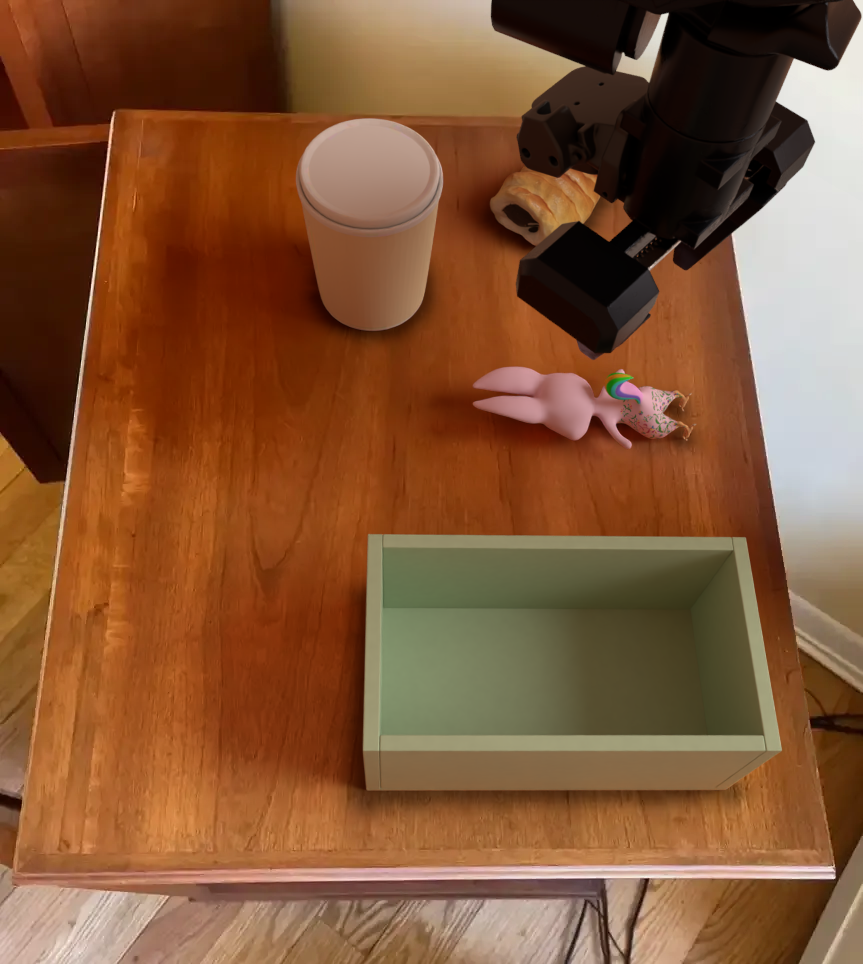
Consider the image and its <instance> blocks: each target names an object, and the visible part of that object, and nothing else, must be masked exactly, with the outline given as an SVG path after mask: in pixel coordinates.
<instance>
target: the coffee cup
mask: <svg viewBox="0 0 863 964" xmlns="http://www.w3.org/2000/svg"><path fill="white" fill-rule="evenodd" d="M297 163H298V164H297V166H296V172H295V185H296V190H297V194H298V197H299V200H300V203H301V206H302V207H301V208H302V213H303V218H304V219H303V220H304V223H305V229H306V235H307V239H308V244H309V248H310V253H311V258H312V263H313V269H314V272H315V278H316V283H317V288H318V291H319V295H320V299H321V301H322V304H323V306H324V307H325V309H326V310H327V312H328V313H329V315H331V316H332V318H334V319H335V320H336V321H338V322H340V323H341V324H343V325H345V326H347V327H350V328H352V329H355V330H359V331H360V330H361V331H366V332H377V331H384V330H389V329H392V328H395V327H398V326H401V325H402V324H404V323H405V322H407V321H408V320H409V319H411V318H412V317H413V316H414V315H415V314H416V313H417V311H418V310H419V309H420V307H421V305H422V303H423V300H424V297H425V292H426V287H427V283H428V276H429V269H430V263H431V257H432V251H433V250H432V249H433V243H434V237H435V231H436V223H437V217H438V211H439V201H440V200H441V196H442V192H443V189H444V188H443V186H444V173H443V172H444V171H443V167H442V164H441V162H440V159H439V157H438V155H437V154H436V152H435V150H434V148H433V147H432V146H431V144H430V143H429V142H428V141H427V139H425V138H424V137H423V136H422V135H421V134H419V133H418V132H417V131H416V130H413V128H410V127H408V126H406V125H403V124H401V123H399V122H396V121H393V120H388V119H383V118H354V119H349V120H345V121H342V122H339V123H336V124H334V125H331V126H329V127H328V128H325V129H324V130H323V131H321V132H320V133H319V134H317V135H316V136H315V137H314V138H313V139H312V140H311V141H310V142H309V143H308V144H307V146H306V147H305V149H304V151H303V153H302V155H301V156H300V158H299V161H298V162H297Z"/></svg>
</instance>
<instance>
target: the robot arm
mask: <svg viewBox="0 0 863 964" xmlns="http://www.w3.org/2000/svg"><path fill="white" fill-rule="evenodd" d="M666 14H668V15H667V18H666V22H665V25H664V29H663V32H662V35H661V38H660V39H661V40H660V43H659V46H658V49H657V54H656V57H655V61H654V64H653V68H652V72H651V74H650V78H649V81H648V80H647V78H645V77H643V76H640V75H636V74H631V73H627V72H621V71H617V70H618V67H619V65H620V63H621V61H622V56H623V54H624V57H626V58H629V59H631V60H634V61H638V60H639V59H640V58H641V57H642V55H643V54H644V52H645V51H646V49H647V47H648V46H649V44H650V42H651V40H652V38H653V36H654V33H655V31H656V29H657V27H658V24H659V22H660V20H661V17H662V15H666ZM861 20H862V12H861V11H860V9H859V7H858V6H857V4H856V2H855V1H854V0H491V3H490V21H491V26H492V29H493V30H494V32H496V33H499V34H502V35H505V36H506V37H510V38H512V39H515V40H517V41H520V42H522V43H525V44H528V45H530V46H533V47H536V48H538V49H541V50H543V51H546V52H548V53H551V54H553V55H556V56H557V57H561V58H563V59H566V60H568V61H571V62H574V63H576V64H579V65H581V66H580V67H577V68H575V69H572V70H571V71H569V72H568V73H567V74H566V75H564V76H563V77H561V78H560V79H559V80H558V81H557V82H555V83H554V84H552V85H551V86H550V87H549V88H548V89H546V90H545V91H544V92H542V93H541V94H540V95H538V96H537V97H536V98H535V99H533V101H532V103H531V105H530V106H531V108H530V109H529V110H527V111H526V112H525V113H524V114H522V115H521V124H520V128H519V131H518V133H517V134H516V141H517V146H518V152H519V159H520V162H521V163H522V164H523V165H524V166H526V167H527V168H528V169H530V170H533V171H537V172H540V173H543V174H546V175H550V176H553V177H556V178H559V177H561V176H562V175H563V174H564V173H566V172H567V171H568V170H569V169H573V170H577V171H580V172H583V173H587V174H591V175H597V179H596V183H595V187H594V192H595V193H597V194H598V195H600V198H603V199H604V200H606V201H607V202H608V203H610V204H614V203H615V202H616V201H618V200H619V201H620V202H621V203H623V205H622V209H623V210H624V212H625V214H626V215H627V216H628V219H630V222H629V223H628V224H626V226H625V227H624V228H622V229H621V231H619V232H618V233H617V234H616V235H615V236H613V237H612V238H611V239H610V240H608V239H606V238H605V237H603V236H602V235H600V234H599V233H597V232H596V231H594V230H593V229H592V228H590V227H589V226H587V225H586V224H585V223H584V224H583V223H581V222H580V221H575V222H569V223H564V224H561V225H560V226H559V227H558V228H557V229H555V230H554V231H553V232H552V233H551V234H550V235H548V236H547V237H546V238H545V239H544V240H543V241H542V242H540V243H539V244H538V245H537V246H534V248H532V249H531V250H529V252H528V253H526V254H525V255H524V256H523V257H521V259H520V260H519V261H518V262H519V263H518V269H517V274H516V280H515V291H516V297H517V298H518V299H520V300H521V301H523V302H524V303H525V304H527V305H528V306H530V307H531V308H532V309H534V310H535V311H536V312H538V313H539V314H540V315H542V316H543V317H544V318H546V319H547V320H549V321H550V322H551V323H553V324H554V325H555V326H557V327H558V328H559V329H561V330H562V331H564V332H565V333H566V334H568V335H569V336H571V337H572V338H573V339H575V342H576V343H577V347H578V349H579V351H580V352H581V353H582V354H583V355H584V356H586V357H587V358H589V359H590V360H592V361H595V360H597V359H598V358H600V357H601V356H602V355H604V354H612V353H613V352H614V351H615V350H616V349H617V348H619V347H620V346H622V345H623V344H624V343H625V342H626V341H627V340H628V339H629V338H630V337H631V336H632V335H634V334H635V333H636V331H638V330H639V329H640V328H641V326H643V325H644V324H645V323H646V322H647V321H648V320H649V319H650V318H651V313H650V312H651V311H652V309H653V308H654V306H655V305H656V302H657V300H658V297H659V294H660V289H659V287H658V284H657V282H656V280H655V278H654V277H653V274H652V273H651V270H653V269H654V268H655V267H656V266H657V265H658V264H659V263H660V262H661V261H662V260H663V259H665V258H666V256H668V255H669V254H670V253H671V252H672V251H673V255H672V262H673V264H674V265H676V266H677V267H679V268H680V269H682V270H683V271H689V270H690V269H691V268H692V267H694V266H695V265H696V264H698V263H699V262H700V261H701V260H702V259H703V258H704V257H705V256H707V255H708V254H709V253H710V252H712V251H713V250H715V248H717V247H718V246H719V245H720V244H722V242H724V241H725V240H726V239H728V238H729V236H731V235H732V234H733V233H735V232H736V231H737V230H738V229H739V228H740V227H742V226H743V225H745V223H747V222H748V221H749V220H751V219H752V218H753V217H754V216H756V214H758V213H759V212H760V211H761V210H762V209H764V207H765V206H767V204H769V202H771V201H772V200H773V199H774V198H775V196H777V195H778V194H779V193H780V192H781V191H782V190H783V189H784V188H785V187H786V186H787V184H788V182H789V181H790V180H792V178H793V177H794V176H796V174H798V173H799V172H800V171H801V170H802V169H803V168H804V166H805V164H806V162H807V160H808V158H809V156H810V154H811V152H812V150H813V148H814V145H815V144H816V139H815V137H814V134H813V132H812V129H811V126H810V124H809V120H808V119H806V118H804V117H803V116H801V115H800V114H798V113H797V112H795V111H793V110H792V109H790V108H788V107H786V106H785V105H783V104H781V103H779V102H778V101H777V100H778V97H779V95H780V92H781V90H782V88H783V86H784V83H785V81H786V79H787V76H788V74H789V71H790V69H791V66H792V65H793V63H794V60H797V61H800V62H802V63H804V64H808V65H810V66H813V67H815V68H817V69H821V70H823V71H827V72H828V71H833V70H835V69H836V68H837V67H838V66H839V65H840V62H841V61H842V59H843V56H844V55H845V53H846V51H847V48H848V47H849V44H850V43H851V40H852V39H853V36H854V34H855V33H856V31H857V30H858V27H859V25H860V23H861Z"/></svg>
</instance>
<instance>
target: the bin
mask: <svg viewBox="0 0 863 964" xmlns="http://www.w3.org/2000/svg"><path fill="white" fill-rule="evenodd" d="M366 551H367V553H366V585H365V586H366V587H365V588H366V591H365V594H366V595H365V628H364V629H365V630H364V631H365V633H364V634H365V635H364V636H365V638H364V673H363V674H364V677H363V678H364V681H363V715H362V716H363V717H362V718H363V720H362V721H363V722H362V723H363V724H362V757H363V768H364V769H363V770H364V781H365V789H366V791H727V790H728V789H730V787H732V786H734V785H735V784H736V783H737V782H739V781H740V780H742V779H743V778H746V776H748V775H750V774H751V773H752V772H754V771H755V770H757V769H758V768H760V767H761V766H763V764H765V763H767V762H768V761H769V760H771V759H773V758H774V757H775V756H777V755H778V754H780V753H782V751H783V749H782V742H781V735H780V731H779V724H778V720H777V719H778V717H777V713H776V707H775V701H774V696H773V688H772V684H771V678H770V673H769V665H768V661H767V655H766V654H767V653H766V649H765V643H764V637H763V631H762V624H761V619H760V613H759V607H758V602H757V596H756V590H755V584H754V578H753V571H752V567H751V561H750V555H749V548H748V543H747V537H745V536H732V537H731V536H656V535H655V536H651V535H650V536H644V535H643V536H642V535H641V536H640V535H638V536H637V535H636V536H635V535H634V536H633V535H632V536H631V535H533V534H531V535H530V534H529V535H528V534H527V535H525V534H523V535H522V534H521V535H519V534H517V535H516V534H410V533H409V534H404V533H403V534H402V533H401V534H399V533H397V534H395V533H394V534H393V533H391V534H390V533H389V534H388V533H384V534H382V533H368V534H367V548H366Z"/></svg>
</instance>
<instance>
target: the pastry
mask: <svg viewBox="0 0 863 964" xmlns="http://www.w3.org/2000/svg"><path fill="white" fill-rule="evenodd" d="M596 179H597V175H591V174H587V173H583V172H580V171H577V170H573V169H569V170H568V171H567V172H566V173H564V174H563V175H562V176H561V177H559V178H556V177H553V176H550V175H546V174H543V173H540V172H537V171H533V170H530V169H528V168H527V167H526V166H525V165H524V166H523V167H522V168H521V169H520V171H519V172H518V171H516V172H512V173H510V174H509V175H507V176H506V178H505V179H504V181H503V183H502V185H501V187H500V189H499V190H498V192H497V193H496V194H495V196H492V197H491V198H490V201H489V207H490V211H491V212H492V213H493V214H494V218H495V220H496V221H497V222H498V223H499V224H500V225H502V226H503V227H504V228H506V229H507V230H509V231H512V232H513V233H515V234H518V235H521V236H522V237H523V238H524V239H525V240H526V241H527V242H528V243H530V244H531V245H533V246H534V247H536V246H537V245H538V244H539V243H540V242H542V241H543V240H544V239H545V238H546V237H547V236H548V235H550V234H551V233H552V232H553V231H554V230H555V229H557V228H558V227H559V226H560V225H561V224H564V223H569V222H575V221H580V222H581V223H583V224H584V225H585V222H586V221H587V220H588V219H589V218H590V216H591V215H592V212H593V210H594V209H595V207H596V205H597V203H598V202H599V200H600V198H601V196H600V195H598V194H597V193H595V192H594V187H595V183H596Z"/></svg>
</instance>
